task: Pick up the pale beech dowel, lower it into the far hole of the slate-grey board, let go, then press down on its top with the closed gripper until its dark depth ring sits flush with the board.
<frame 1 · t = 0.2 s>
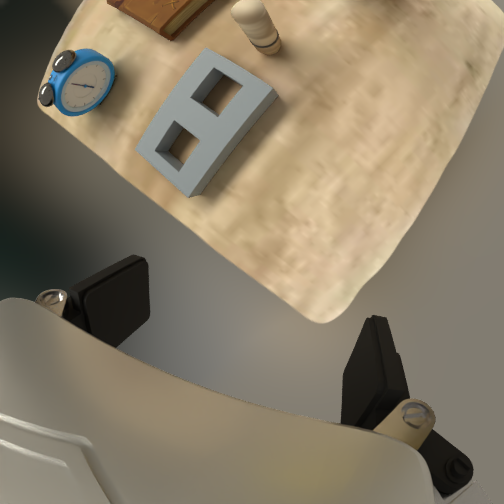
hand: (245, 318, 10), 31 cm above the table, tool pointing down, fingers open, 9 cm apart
alarm clock: (104, 86, 41), on the table
board: (206, 121, 39), on the table
dowel: (269, 46, 32), on the table
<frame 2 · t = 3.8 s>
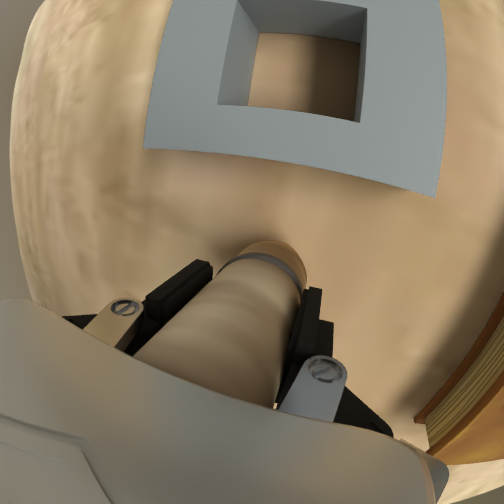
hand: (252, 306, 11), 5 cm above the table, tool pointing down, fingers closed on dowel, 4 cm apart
board: (311, 9, 10), on the table
dowel: (274, 267, 16), on the table, touching gripper
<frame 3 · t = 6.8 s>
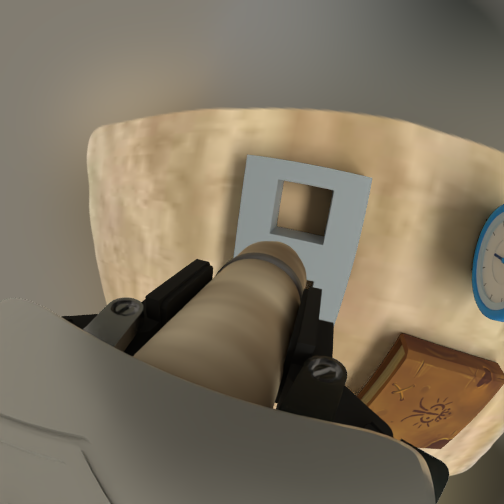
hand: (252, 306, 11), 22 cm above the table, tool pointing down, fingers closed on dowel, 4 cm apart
alarm clock: (489, 248, 25), on the table
board: (296, 247, 33), on the table
diary: (424, 389, 34), on the table
dowel: (274, 267, 16), point 17 cm above the table, touching gripper
when the fingers open (5 cm above the table, at t = 9.9 s): dowel stays where it is, resting in board.
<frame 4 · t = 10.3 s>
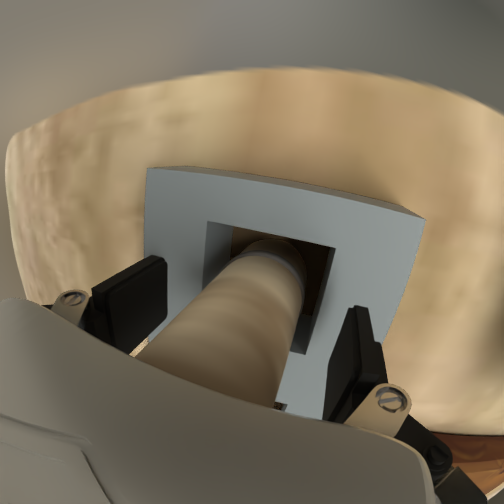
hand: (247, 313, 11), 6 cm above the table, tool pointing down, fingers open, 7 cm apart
board: (263, 331, 18), on the table
diary: (436, 470, 19), on the table
dowel: (276, 265, 16), resting in board
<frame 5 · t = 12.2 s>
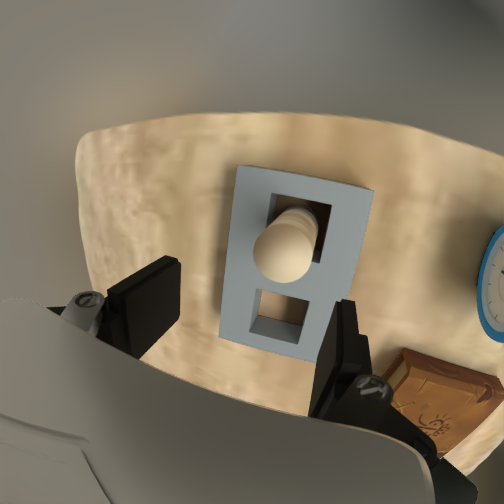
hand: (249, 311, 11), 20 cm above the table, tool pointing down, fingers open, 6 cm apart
alarm clock: (495, 262, 23), on the table
board: (292, 263, 31), on the table
diary: (423, 403, 32), on the table
dowel: (300, 221, 29), resting in board
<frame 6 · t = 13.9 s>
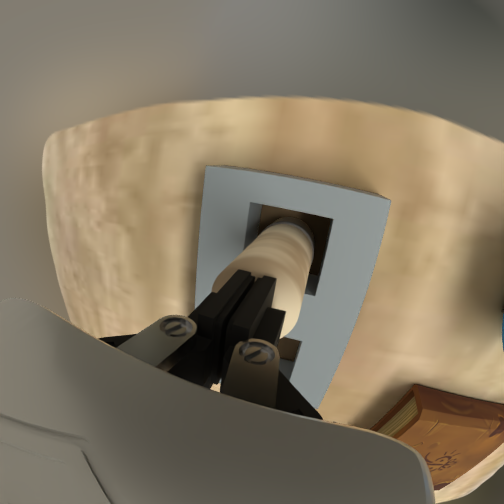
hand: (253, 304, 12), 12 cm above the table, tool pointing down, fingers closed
board: (281, 289, 24), on the table
diary: (430, 435, 26), on the table
dowel: (291, 237, 23), resting in board, touching gripper
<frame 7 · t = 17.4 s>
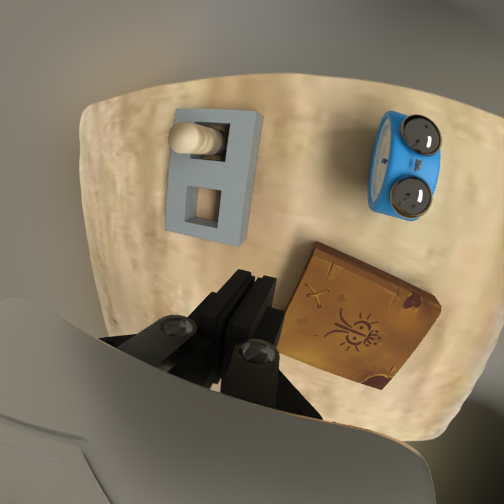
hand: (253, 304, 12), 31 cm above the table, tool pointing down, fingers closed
alarm clock: (389, 166, 35), on the table
board: (215, 173, 42), on the table
diary: (354, 314, 44), on the table
dowel: (219, 143, 41), resting in board
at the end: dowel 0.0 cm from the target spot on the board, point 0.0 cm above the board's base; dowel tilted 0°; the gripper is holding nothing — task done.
